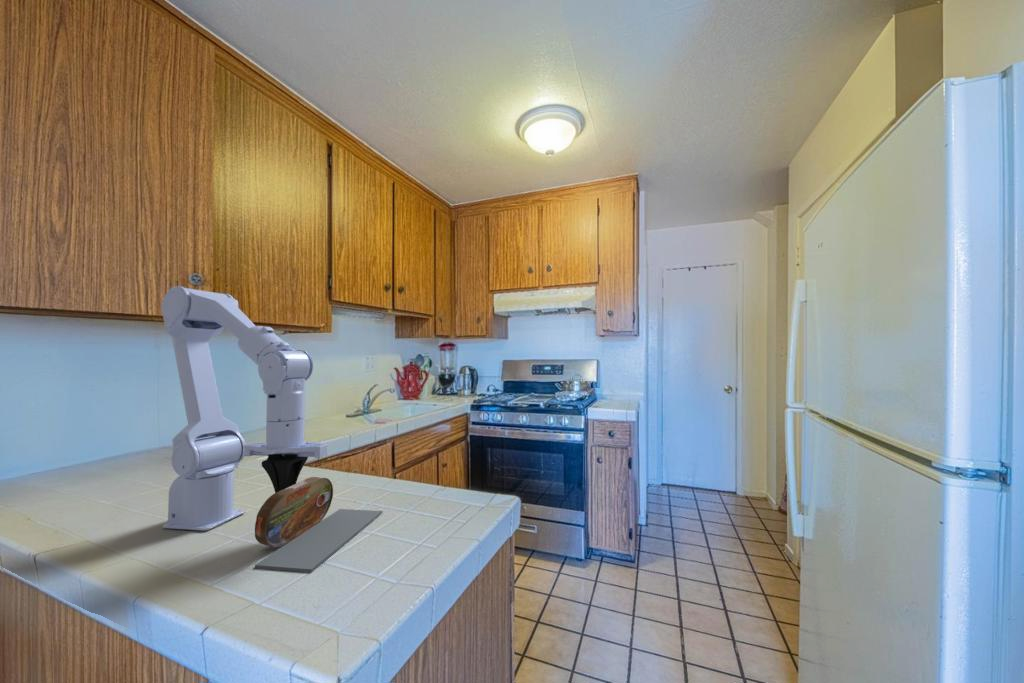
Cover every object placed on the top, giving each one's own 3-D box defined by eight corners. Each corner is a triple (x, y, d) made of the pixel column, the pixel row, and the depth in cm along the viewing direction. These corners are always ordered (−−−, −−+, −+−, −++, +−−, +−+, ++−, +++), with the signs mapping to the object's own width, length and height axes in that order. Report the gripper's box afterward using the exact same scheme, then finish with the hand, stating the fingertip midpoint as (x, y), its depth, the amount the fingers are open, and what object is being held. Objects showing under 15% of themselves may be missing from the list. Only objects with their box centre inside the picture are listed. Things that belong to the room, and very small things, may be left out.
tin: (263, 558, 55) (271, 502, 56) (246, 553, 56) (254, 498, 56) (331, 516, 70) (337, 472, 70) (317, 512, 71) (323, 469, 71)
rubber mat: (254, 567, 53) (254, 565, 53) (339, 511, 73) (339, 508, 73) (311, 572, 52) (311, 569, 52) (382, 513, 71) (382, 511, 71)
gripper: (228, 422, 61) (227, 505, 61) (307, 423, 59) (306, 509, 59) (263, 416, 68) (262, 490, 68) (335, 416, 66) (334, 493, 66)
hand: (285, 498), depth 64 cm, fingers closed
